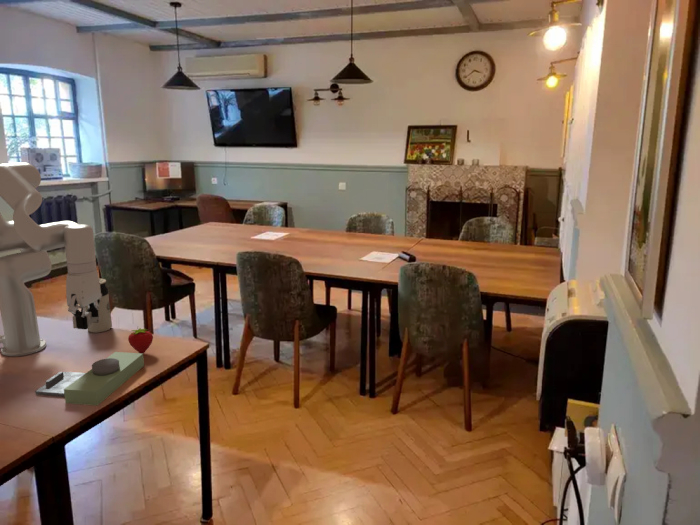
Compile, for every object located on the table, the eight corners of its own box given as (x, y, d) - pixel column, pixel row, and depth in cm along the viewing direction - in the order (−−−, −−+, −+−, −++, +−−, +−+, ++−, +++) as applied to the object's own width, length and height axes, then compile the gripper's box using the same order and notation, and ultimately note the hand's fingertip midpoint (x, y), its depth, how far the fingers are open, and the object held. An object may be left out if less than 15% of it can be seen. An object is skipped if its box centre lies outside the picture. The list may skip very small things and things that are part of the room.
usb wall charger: (76, 324, 157) (75, 311, 156) (101, 322, 159) (100, 310, 158) (73, 329, 153) (72, 316, 152) (99, 327, 155) (97, 315, 154)
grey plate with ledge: (35, 394, 141) (34, 386, 140) (64, 374, 153) (63, 366, 152) (71, 397, 140) (70, 388, 139) (97, 377, 151) (96, 369, 151)
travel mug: (83, 332, 184) (77, 284, 179) (94, 324, 192) (89, 278, 187) (105, 333, 184) (100, 284, 179) (116, 325, 191) (111, 278, 187)
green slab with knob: (64, 402, 137) (61, 382, 135) (115, 363, 160) (113, 345, 158) (97, 405, 136) (94, 384, 134) (144, 365, 159) (142, 347, 157)
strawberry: (152, 357, 165) (149, 327, 162) (127, 358, 164) (124, 328, 161) (156, 349, 170) (153, 321, 168) (132, 350, 169) (129, 321, 167)
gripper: (88, 259, 160) (93, 314, 164) (50, 274, 143) (57, 335, 148) (110, 260, 159) (115, 316, 163) (75, 275, 142) (82, 337, 147)
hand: (88, 324), depth 156 cm, fingers closed on usb wall charger, 4 cm apart
